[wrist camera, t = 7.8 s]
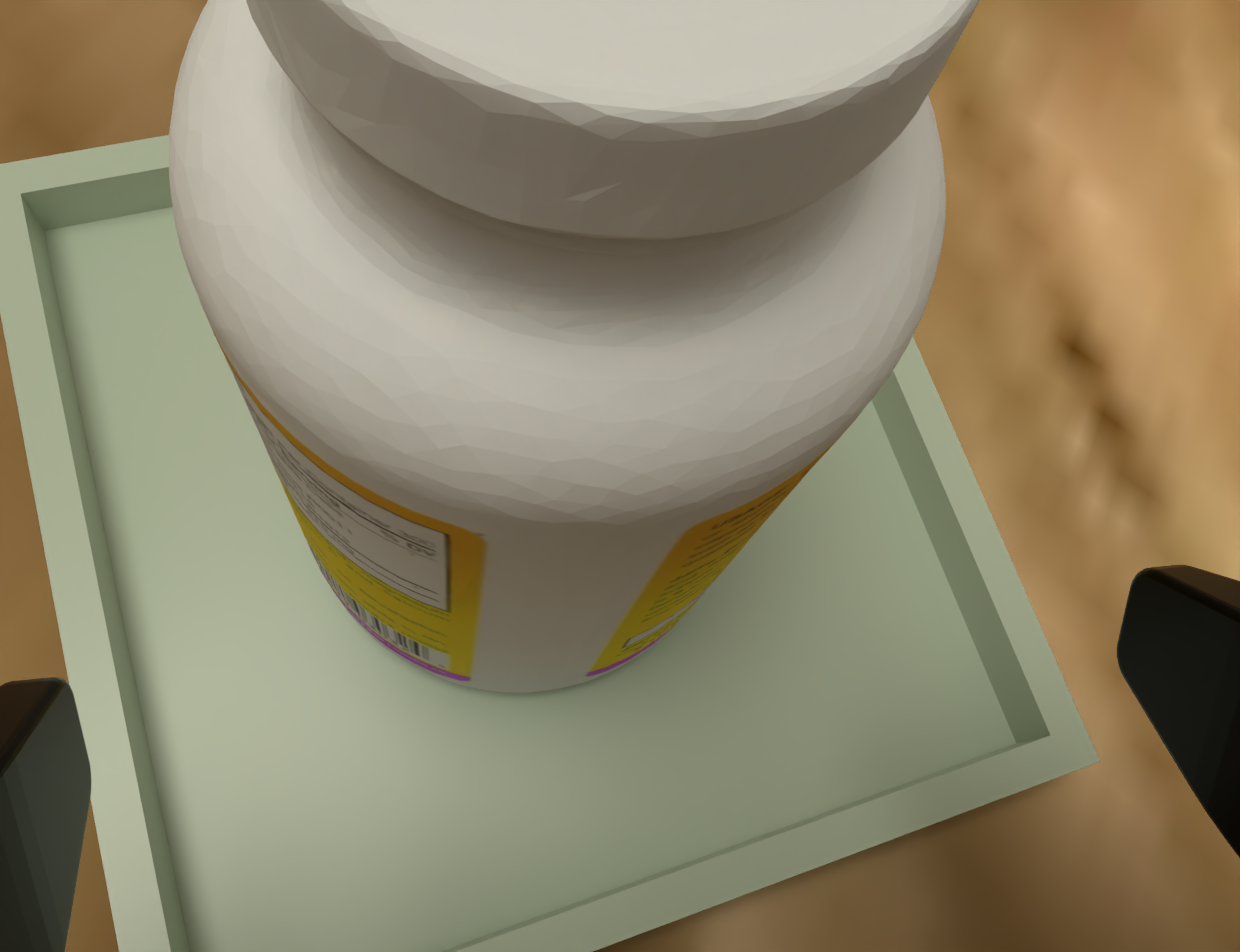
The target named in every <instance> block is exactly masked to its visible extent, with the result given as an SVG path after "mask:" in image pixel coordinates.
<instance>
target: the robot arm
mask: <svg viewBox="0 0 1240 952" xmlns="http://www.w3.org/2000/svg"><path fill="white" fill-rule="evenodd" d="M1117 659H1118V664H1119V667H1120V670H1121V673H1122V675H1123V677H1124V678H1125V680H1126V682H1127V683H1128V685H1129V687H1130V688H1131V690H1132V692H1133V693H1134V695H1135V696H1136V698H1137V700H1138V701H1139V703H1140V705H1141V706H1142V708H1143V710H1144V711H1145V713H1146V715H1147V716H1148V718H1149V720H1150V721H1151V723H1152V725H1153V726H1154V728H1155V730H1156V731H1157V733H1158V734H1159V736H1160V738H1161V739H1162V741H1163V743H1164V744H1165V746H1166V748H1167V749H1168V751H1169V753H1170V754H1171V756H1172V758H1173V759H1174V761H1175V763H1176V764H1177V766H1178V768H1179V769H1180V771H1181V772H1182V774H1183V776H1184V777H1185V779H1186V781H1187V782H1188V784H1189V786H1190V787H1191V789H1192V791H1193V792H1194V794H1195V795H1196V797H1197V798H1198V800H1199V801H1200V803H1201V805H1202V806H1203V808H1204V809H1205V811H1206V812H1207V814H1208V815H1209V817H1210V818H1211V819H1212V821H1213V822H1214V824H1215V825H1216V826H1217V828H1218V829H1219V831H1220V832H1221V834H1222V835H1223V836H1224V838H1225V839H1226V840H1227V842H1228V843H1229V844H1230V846H1231V847H1232V848H1233V850H1234V851H1235V852H1236V854H1237V855H1238V856H1239V858H1240V581H1237V580H1234V579H1231V578H1228V577H1224V576H1221V575H1218V574H1215V573H1211V572H1208V571H1205V570H1201V569H1198V568H1195V567H1192V566H1187V565H1171V566H1162V567H1152V568H1146V569H1143V570H1142V571H1140V572H1139V573H1138V574H1137V575H1136V576H1135V578H1134V579H1133V581H1132V584H1131V587H1130V591H1129V595H1128V600H1127V604H1126V608H1125V613H1124V617H1123V622H1122V626H1121V630H1120V635H1119V639H1118V644H1117ZM90 797H91V768H90V762H89V757H88V753H87V749H86V745H85V740H84V736H83V732H82V728H81V723H80V719H79V715H78V711H77V706H76V702H75V698H74V694H73V691H72V689H71V687H70V685H69V684H68V682H66V681H65V680H64V679H62V678H59V677H50V678H40V679H30V680H20V681H12V682H8V683H5V684H3V685H2V686H0V952H65V947H66V941H67V935H68V929H69V923H70V917H71V911H72V905H73V899H74V893H75V887H76V881H77V875H78V869H79V863H80V857H81V851H82V845H83V839H84V833H85V827H86V821H87V815H88V809H89V803H90Z"/></svg>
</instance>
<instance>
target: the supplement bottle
mask: <svg viewBox="0 0 1240 952" xmlns="http://www.w3.org/2000/svg"><path fill="white" fill-rule="evenodd" d="M979 1H980V0H208V1H207V3H206V5H205V7H204V9H203V11H202V13H201V15H200V17H199V19H198V22H197V24H196V26H195V28H194V31H193V33H192V35H191V37H190V40H189V42H188V45H187V48H186V51H185V55H184V58H183V61H182V64H181V67H180V71H179V75H178V79H177V84H176V88H175V96H174V103H173V110H172V117H171V124H170V132H169V180H170V189H171V198H172V206H173V214H174V221H175V226H176V230H177V235H178V239H179V243H180V248H181V251H182V254H183V257H184V260H185V263H186V266H187V268H188V271H189V274H190V277H191V280H192V282H193V285H194V287H195V290H196V292H197V294H198V297H199V300H200V303H201V305H202V308H203V310H204V312H205V314H206V317H207V319H208V321H209V323H210V326H211V328H212V330H213V333H214V336H215V337H216V339H217V341H218V344H219V346H220V348H221V350H222V352H223V354H224V356H225V359H226V361H227V363H228V365H229V367H230V369H231V371H232V373H233V375H234V378H235V380H236V382H237V384H238V387H239V389H240V391H241V393H242V396H243V398H244V400H245V402H246V405H247V407H248V409H249V411H250V414H251V416H252V418H253V420H254V423H255V425H256V427H257V429H258V431H259V434H260V436H261V438H262V440H263V443H264V445H265V447H266V450H267V452H268V455H269V457H270V459H271V462H272V464H273V466H274V468H275V471H276V473H277V475H278V477H279V480H280V482H281V484H282V486H283V489H284V491H285V494H286V496H287V498H288V500H289V502H290V504H291V507H292V509H293V512H294V514H295V516H296V518H297V521H298V523H299V525H300V527H301V530H302V532H303V534H304V536H305V538H306V540H307V543H308V545H309V547H310V550H311V552H312V554H313V556H314V558H315V560H316V562H317V564H318V566H319V568H320V570H321V572H322V574H323V575H324V577H325V579H326V580H327V582H328V584H329V585H330V587H331V588H332V590H333V592H334V593H335V594H336V596H337V597H338V599H339V600H340V602H341V603H342V604H343V606H344V607H345V608H346V610H347V611H348V612H349V614H350V615H351V616H352V617H353V618H354V619H355V620H356V622H357V623H358V624H359V625H360V626H361V627H362V628H363V629H364V630H365V631H366V632H367V633H368V634H369V635H370V636H371V637H372V638H374V639H375V640H376V641H377V642H378V643H379V644H381V645H382V646H383V647H384V648H386V649H387V650H389V651H390V652H392V653H393V654H395V655H396V656H398V657H399V658H401V659H402V660H404V661H406V662H407V663H409V664H411V665H413V666H414V667H416V668H418V669H420V670H422V671H424V672H427V673H429V674H431V675H433V676H435V677H438V678H441V679H444V680H447V681H450V682H453V683H456V684H460V685H464V686H467V687H472V688H477V689H482V690H487V691H495V692H517V693H528V692H538V691H547V690H554V689H560V688H564V687H568V686H572V685H576V684H580V683H584V682H587V681H589V680H592V679H595V678H597V677H600V676H602V675H604V674H607V673H609V672H611V671H613V670H615V669H617V668H619V667H621V666H623V665H625V664H626V663H628V662H630V661H631V660H633V659H634V658H636V657H637V656H639V655H641V654H642V653H643V652H645V651H646V650H647V649H649V648H650V647H651V646H652V645H654V644H655V643H656V642H657V641H658V640H659V639H661V638H662V637H663V636H664V635H665V634H666V633H667V632H669V631H670V630H671V629H672V628H673V627H674V626H675V625H676V624H677V622H678V621H679V620H680V619H681V618H682V617H683V616H684V615H685V614H686V613H687V612H688V611H689V609H690V608H691V607H692V606H693V605H694V604H695V603H696V602H697V601H698V600H699V598H700V597H701V596H702V595H703V594H704V592H705V591H706V590H707V589H708V588H709V587H710V586H711V585H712V583H713V582H714V581H715V580H716V579H717V578H718V577H719V575H720V574H721V573H722V572H723V571H724V569H725V568H726V567H727V566H728V565H729V564H730V563H731V561H732V560H733V559H734V558H735V557H736V555H737V554H738V553H739V552H740V551H741V550H742V549H743V547H744V546H745V545H746V544H747V542H748V541H749V540H750V539H751V538H752V537H753V535H754V534H755V533H756V532H757V531H758V529H759V528H760V527H761V526H762V525H763V524H764V522H765V521H766V520H767V519H768V518H769V517H770V516H771V514H772V513H773V512H774V511H775V510H776V509H777V507H778V506H779V505H780V504H781V503H782V502H783V500H784V499H785V498H786V497H787V496H788V495H789V494H790V493H791V491H792V490H793V489H794V488H795V487H796V486H797V485H798V483H799V482H800V481H801V480H802V479H803V478H804V476H805V475H806V474H807V473H808V472H809V471H810V469H811V468H812V467H813V466H814V465H815V464H816V463H817V462H818V461H819V460H820V459H821V458H822V456H823V455H824V454H825V453H826V452H827V451H828V450H829V449H830V448H831V447H832V446H833V445H834V444H835V442H836V441H837V440H838V439H839V438H840V437H841V436H842V435H843V433H844V432H845V431H846V430H847V429H848V428H849V427H850V426H851V424H852V423H853V422H854V421H855V420H856V419H857V417H858V416H859V415H860V413H861V412H862V411H863V409H864V408H865V407H866V406H867V405H868V403H869V402H870V401H871V400H872V399H873V397H874V396H875V395H876V393H877V392H878V391H879V389H880V388H881V387H882V386H883V384H884V383H885V382H886V380H887V379H888V378H889V376H890V374H891V373H892V371H893V370H894V368H895V366H896V365H897V363H898V361H899V360H900V358H901V356H902V355H903V353H904V352H905V350H906V348H907V347H908V345H909V343H910V340H911V338H912V336H913V334H914V332H915V330H916V328H917V326H918V323H919V321H920V319H921V317H922V315H923V313H924V311H925V307H926V304H927V301H928V298H929V295H930V291H931V288H932V285H933V282H934V279H935V275H936V270H937V266H938V261H939V257H940V253H941V248H942V242H943V235H944V226H945V214H946V188H945V176H944V164H943V155H942V149H941V143H940V139H939V134H938V129H937V124H936V120H935V115H934V111H933V108H932V105H931V102H930V98H929V95H928V93H929V91H930V90H931V88H932V86H933V85H934V83H935V81H936V79H937V78H938V76H939V74H940V72H941V71H942V69H943V67H944V65H945V63H946V62H947V60H948V58H949V56H950V54H951V52H952V51H953V49H954V47H955V45H956V43H957V41H958V40H959V38H960V36H961V34H962V32H963V30H964V29H965V27H966V25H967V23H968V21H969V19H970V18H971V16H972V14H973V12H974V10H975V8H976V6H977V5H978V3H979Z"/></svg>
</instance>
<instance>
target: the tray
mask: <svg viewBox="0 0 1240 952" xmlns="http://www.w3.org/2000/svg"><path fill="white" fill-rule="evenodd" d="M0 314H1V319H2V325H3V330H4V335H5V341H6V346H7V351H8V357H9V362H10V368H11V373H12V378H13V384H14V389H15V394H16V400H17V405H18V411H19V416H20V421H21V427H22V432H23V437H24V443H25V448H26V454H27V459H28V464H29V470H30V475H31V480H32V486H33V491H34V497H35V502H36V507H37V513H38V518H39V523H40V529H41V534H42V540H43V545H44V550H45V556H46V561H47V566H48V572H49V577H50V583H51V588H52V593H53V599H54V604H55V609H56V615H57V620H58V626H59V631H60V636H61V642H62V647H63V652H64V658H65V663H66V669H67V674H68V679H69V685H70V687H71V689H72V691H73V694H74V698H75V702H76V706H77V711H78V715H79V719H80V723H81V728H82V732H83V736H84V740H85V745H86V749H87V753H88V757H89V762H90V768H91V797H90V798H91V803H92V808H93V814H94V819H95V824H96V830H97V835H98V841H99V846H100V851H101V857H102V862H103V867H104V873H105V878H106V884H107V889H108V894H109V900H110V905H111V910H112V916H113V921H114V927H115V932H116V937H117V943H118V948H119V952H593V951H596V950H598V949H601V948H604V947H607V946H609V945H612V944H615V943H617V942H620V941H623V940H625V939H628V938H631V937H633V936H636V935H639V934H641V933H644V932H647V931H649V930H652V929H655V928H657V927H660V926H663V925H665V924H668V923H671V922H673V921H676V920H679V919H681V918H684V917H687V916H689V915H692V914H695V913H697V912H700V911H703V910H705V909H708V908H711V907H713V906H716V905H719V904H721V903H724V902H727V901H729V900H732V899H735V898H737V897H740V896H743V895H745V894H748V893H751V892H753V891H756V890H759V889H761V888H764V887H767V886H769V885H772V884H775V883H777V882H780V881H783V880H785V879H788V878H791V877H793V876H796V875H799V874H801V873H804V872H807V871H809V870H812V869H815V868H817V867H820V866H823V865H825V864H828V863H831V862H833V861H836V860H839V859H841V858H844V857H847V856H849V855H852V854H855V853H857V852H860V851H863V850H865V849H868V848H871V847H873V846H876V845H879V844H881V843H884V842H887V841H889V840H892V839H895V838H897V837H900V836H903V835H905V834H908V833H911V832H913V831H916V830H919V829H921V828H924V827H927V826H929V825H932V824H935V823H937V822H940V821H943V820H945V819H948V818H951V817H953V816H956V815H959V814H962V813H964V812H967V811H970V810H972V809H975V808H978V807H980V806H983V805H986V804H988V803H991V802H994V801H996V800H999V799H1002V798H1004V797H1007V796H1010V795H1012V794H1015V793H1018V792H1020V791H1023V790H1026V789H1028V788H1031V787H1034V786H1036V785H1039V784H1042V783H1044V782H1047V781H1050V780H1052V779H1055V778H1058V777H1060V776H1063V775H1066V774H1068V773H1071V772H1074V771H1076V770H1079V769H1082V768H1084V767H1087V766H1090V765H1092V764H1095V763H1098V762H1100V760H1099V758H1098V755H1097V753H1096V751H1095V748H1094V746H1093V744H1092V742H1091V739H1090V737H1089V735H1088V733H1087V730H1086V728H1085V726H1084V723H1083V721H1082V719H1081V717H1080V714H1079V712H1078V710H1077V708H1076V705H1075V703H1074V701H1073V699H1072V696H1071V694H1070V692H1069V689H1068V687H1067V685H1066V683H1065V680H1064V678H1063V676H1062V674H1061V671H1060V669H1059V667H1058V665H1057V662H1056V660H1055V658H1054V655H1053V653H1052V651H1051V649H1050V646H1049V644H1048V642H1047V640H1046V637H1045V635H1044V633H1043V631H1042V628H1041V626H1040V624H1039V621H1038V619H1037V617H1036V615H1035V612H1034V610H1033V608H1032V606H1031V603H1030V601H1029V599H1028V596H1027V594H1026V592H1025V590H1024V587H1023V585H1022V583H1021V581H1020V578H1019V576H1018V574H1017V572H1016V569H1015V567H1014V565H1013V562H1012V560H1011V558H1010V556H1009V553H1008V551H1007V549H1006V547H1005V544H1004V542H1003V540H1002V538H1001V535H1000V533H999V531H998V528H997V526H996V524H995V522H994V519H993V517H992V515H991V513H990V510H989V508H988V506H987V504H986V501H985V499H984V497H983V494H982V492H981V490H980V488H979V485H978V483H977V481H976V479H975V476H974V474H973V472H972V469H971V467H970V465H969V463H968V460H967V458H966V456H965V454H964V451H963V449H962V447H961V445H960V442H959V440H958V438H957V435H956V433H955V431H954V429H953V426H952V424H951V422H950V420H949V417H948V415H947V413H946V411H945V408H944V406H943V404H942V401H941V399H940V397H939V395H938V392H937V390H936V388H935V386H934V383H933V381H932V379H931V377H930V374H929V372H928V370H927V367H926V365H925V363H924V361H923V358H922V356H921V354H920V352H919V349H918V347H917V345H916V342H915V340H914V338H913V336H912V338H911V340H910V343H909V345H908V347H907V348H906V350H905V352H904V353H903V355H902V356H901V358H900V360H899V361H898V363H897V365H896V366H895V368H894V370H893V371H892V373H891V374H890V376H889V378H888V379H887V380H886V382H885V383H884V384H883V386H882V387H881V388H880V389H879V391H878V392H877V393H876V395H875V396H874V397H873V399H872V400H871V401H870V402H869V403H868V405H867V406H866V407H865V408H864V409H863V411H862V412H861V413H860V415H859V416H858V417H857V419H856V420H855V421H854V422H853V423H852V424H851V426H850V427H849V428H848V429H847V430H846V431H845V432H844V433H843V435H842V436H841V437H840V438H839V439H838V440H837V441H836V442H835V444H834V445H833V446H832V447H831V448H830V449H829V450H828V451H827V452H826V453H825V454H824V455H823V456H822V458H821V459H820V460H819V461H818V462H817V463H816V464H815V465H814V466H813V467H812V468H811V469H810V471H809V472H808V473H807V474H806V475H805V476H804V478H803V479H802V480H801V481H800V482H799V483H798V485H797V486H796V487H795V488H794V489H793V490H792V491H791V493H790V494H789V495H788V496H787V497H786V498H785V499H784V500H783V502H782V503H781V504H780V505H779V506H778V507H777V509H776V510H775V511H774V512H773V513H772V514H771V516H770V517H769V518H768V519H767V520H766V521H765V522H764V524H763V525H762V526H761V527H760V528H759V529H758V531H757V532H756V533H755V534H754V535H753V537H752V538H751V539H750V540H749V541H748V542H747V544H746V545H745V546H744V547H743V549H742V550H741V551H740V552H739V553H738V554H737V555H736V557H735V558H734V559H733V560H732V561H731V563H730V564H729V565H728V566H727V567H726V568H725V569H724V571H723V572H722V573H721V574H720V575H719V577H718V578H717V579H716V580H715V581H714V582H713V583H712V585H711V586H710V587H709V588H708V589H707V590H706V591H705V592H704V594H703V595H702V596H701V597H700V598H699V600H698V601H697V602H696V603H695V604H694V605H693V606H692V607H691V608H690V609H689V611H688V612H687V613H686V614H685V615H684V616H683V617H682V618H681V619H680V620H679V621H678V622H677V624H676V625H675V626H674V627H673V628H672V629H671V630H670V631H669V632H667V633H666V634H665V635H664V636H663V637H662V638H661V639H659V640H658V641H657V642H656V643H655V644H654V645H652V646H651V647H650V648H649V649H647V650H646V651H645V652H643V653H642V654H641V655H639V656H637V657H636V658H634V659H633V660H631V661H630V662H628V663H626V664H625V665H623V666H621V667H619V668H617V669H615V670H613V671H611V672H609V673H607V674H604V675H602V676H600V677H597V678H595V679H592V680H589V681H587V682H584V683H580V684H576V685H572V686H568V687H564V688H560V689H554V690H547V691H538V692H528V693H517V692H495V691H487V690H482V689H477V688H472V687H467V686H464V685H460V684H456V683H453V682H450V681H447V680H444V679H441V678H438V677H435V676H433V675H431V674H429V673H427V672H424V671H422V670H420V669H418V668H416V667H414V666H413V665H411V664H409V663H407V662H406V661H404V660H402V659H401V658H399V657H398V656H396V655H395V654H393V653H392V652H390V651H389V650H387V649H386V648H384V647H383V646H382V645H381V644H379V643H378V642H377V641H376V640H375V639H374V638H372V637H371V636H370V635H369V634H368V633H367V632H366V631H365V630H364V629H363V628H362V627H361V626H360V625H359V624H358V623H357V622H356V620H355V619H354V618H353V617H352V616H351V615H350V614H349V612H348V611H347V610H346V608H345V607H344V606H343V604H342V603H341V602H340V600H339V599H338V597H337V596H336V594H335V593H334V592H333V590H332V588H331V587H330V585H329V584H328V582H327V580H326V579H325V577H324V575H323V574H322V572H321V570H320V568H319V566H318V564H317V562H316V560H315V558H314V556H313V554H312V552H311V550H310V547H309V545H308V543H307V540H306V538H305V536H304V534H303V532H302V530H301V527H300V525H299V523H298V521H297V518H296V516H295V514H294V512H293V509H292V507H291V504H290V502H289V500H288V498H287V496H286V494H285V491H284V489H283V486H282V484H281V482H280V480H279V477H278V475H277V473H276V471H275V468H274V466H273V464H272V462H271V459H270V457H269V455H268V452H267V450H266V447H265V445H264V443H263V440H262V438H261V436H260V434H259V431H258V429H257V427H256V425H255V423H254V420H253V418H252V416H251V414H250V411H249V409H248V407H247V405H246V402H245V400H244V398H243V396H242V393H241V391H240V389H239V387H238V384H237V382H236V380H235V378H234V375H233V373H232V371H231V369H230V367H229V365H228V363H227V361H226V359H225V356H224V354H223V352H222V350H221V348H220V346H219V344H218V341H217V339H216V337H215V336H214V333H213V330H212V328H211V326H210V323H209V321H208V319H207V317H206V314H205V312H204V310H203V308H202V305H201V303H200V300H199V297H198V294H197V292H196V290H195V287H194V285H193V282H192V280H191V277H190V274H189V271H188V268H187V266H186V263H185V260H184V257H183V254H182V251H181V248H180V243H179V239H178V235H177V230H176V226H175V221H174V214H173V206H172V198H171V189H170V180H169V135H166V136H161V137H155V138H149V139H143V140H137V141H132V142H126V143H120V144H114V145H108V146H103V147H97V148H91V149H85V150H80V151H74V152H68V153H62V154H56V155H51V156H45V157H39V158H33V159H27V160H22V161H16V162H10V163H4V164H0Z"/></svg>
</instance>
